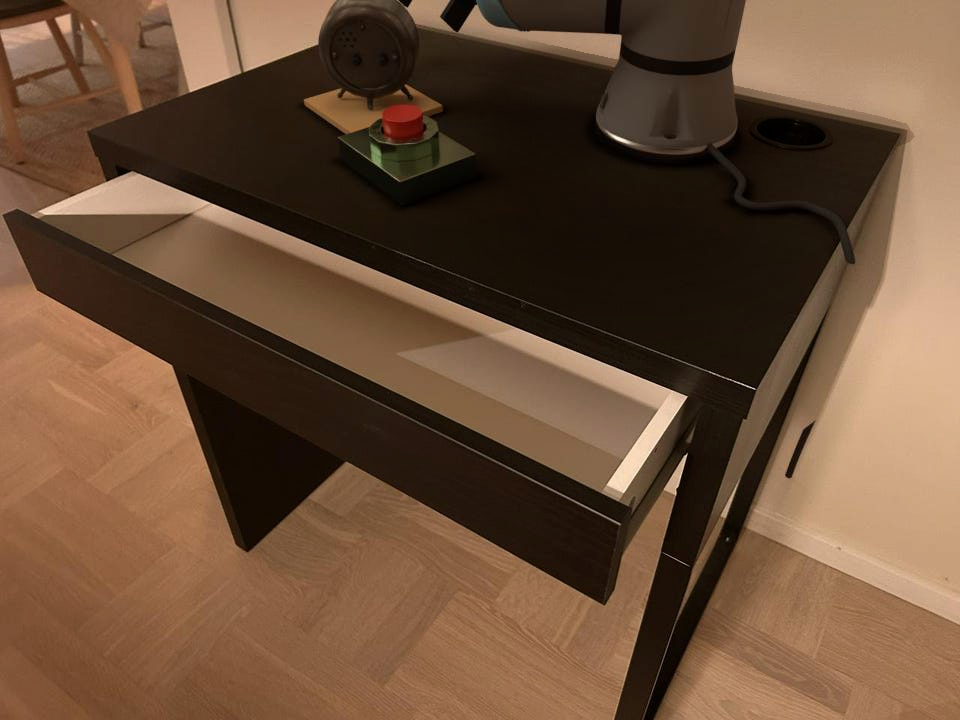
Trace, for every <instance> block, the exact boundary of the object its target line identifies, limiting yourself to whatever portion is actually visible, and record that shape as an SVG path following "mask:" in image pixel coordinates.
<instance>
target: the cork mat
mask: <svg viewBox="0 0 960 720" xmlns="http://www.w3.org/2000/svg"><path fill="white" fill-rule="evenodd" d="M405 86H406V88H407V89H408V90H409V92H410V94H411V95H412V96H413V99H412V100H409V99H408V97H407V95H405V94H404V93H403V92H402V91H401V90H399V91H397V92H396V93H394V94H392V95H390V96H387V97H383V98H376V99H373V110H369V109H368V107H367V98H363V97H359V96H356V95H353V94H351V93H349V92H347V91H346V92H345V93H344V94H343V96H342V98H338V96H337V94H338V93H340V91H341V88H338V89H334V90H332V91H327V92H325V93H321V94H318V95H314V96H311V97H308V98H304V99H303V103H304V106H305V107H306V108H307V109H310V110H311V111H312V112H313V113H315V114H316V115H318V116H319V117H321V118H322V119H323V120H325V121H327V122H328V123H329V124H331V125H332V126H334V127H335V128H336V129H338V130H339V131H341V132H342V133H343V134H344V135H346V134H349V133H352V132H355V131H358V130H361V129H364V128H367V127H370V126H371V125H372V124H373V123H374V122H376V121H377V120H378V119H380V118H382V113H383V111H384V110H385V109H387V108H389V107H391V106H395V105H413V106H416V107H418V108H420V109H421V110H422V113H423V116H427V117H431V116H433V115H437V114H440V113H443V112H444V107H443V104H441V103H439V102H438V101H436V100H434V99H432V98H430V97H429V96H427V95H425V94H424V93H422V92H420V91H419V90H416V89H414V88H413V87H411V86H409V85H408V84H406V85H405Z"/></svg>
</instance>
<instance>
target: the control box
mask: <svg viewBox="0 0 960 720" xmlns="http://www.w3.org/2000/svg"><path fill="white" fill-rule="evenodd" d="M423 128H424V132H423V133H422V134H421V135H419V136H416V137H413V138H407V139H395V138H389V137H387V136H385V135H384V128H383V119H382V118H380V119H378V120H377V121H376V122H374V123H373V124H372V125H371V126H370V127H367V128H364V129H361V130H358V131H355V132H352V133H349V134H343V135H340V136H338V137H337V141H338V148H339V155H340V160H341V162H343V164H346V166H348V167H349V168H351V169H352V170H353V171H354V172H356V173H357V174H359V175H360V176H362V177H363V178H364V179H365V180H366V181H368V182H369V183H370V184H372V185H373V186H374V187H376V188H377V189H379V190H380V191H381V192H383V193H384V194H385V195H387V196H388V197H389V198H391V199H392V200H393V201H395V202H396V203H397V204H399V205H400V206H401V207H404V206H407V205H409V204H412V203H414V202H417V201H419V200H423V199H424V198H428V197H430V196H432V195H434V194H438V193H440V192H442V191H445V190H448V189H450V188H453V187H455V186H458V185H461V184H463V183H466V182H468V181H471V180H474V179H476V177H477V173H476V169H477V167H476V166H477V165H476V153H475V152H473V151H472V150H471V149H468V148H467V147H465V146H464V145H462V144H460V143H459V142H457V141H455V140H454V139H452V138H450V137H449V136H447V135H446V134H444V133H442V132H441V131H439V126H438V121H436V120H435V119H432V118H431V117H430V116H428V117H427V116H423Z"/></svg>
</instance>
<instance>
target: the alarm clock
mask: <svg viewBox="0 0 960 720" xmlns="http://www.w3.org/2000/svg"><path fill="white" fill-rule="evenodd" d="M317 40H318V43H317V44H318V54H319V58H320V61H321V64H322V66H323V68H324V70H325V71H326V74H327V75H328V76H329V78H330V79H331V80H332V81H333V82H334V83H335V84H336V85H337V86H338V87H339V88H340V89H341V91H340V93H338V94H337V96H338V98H342V96H343V94H344V93H345V92H346V91H347V92H349V93H351V94H353V95H356V96H359V97H363V98H367V107H368V109H369V110H373V99H376V98H383V97H387V96H390V95H392V94H394V93H396V92H397V91H399V90H401V91H402V92H403V93H404V94H405V95H407V97H408V99H409V100H412V99H413V96H412V95H411V94H410V92H409V90H408V89H407V88H406V86H405V85H407V84H408V83H409V81H410V79H411V78H412V76H413V73H414V70H415V67H416V63H417V60H418V56H419V54H420V53H419V52H420V35H419V31H418V27H417V25H416V22H415V19H414V18H413V16H412V15H411V13H410V12H409V11H408V8H407V7H405V6H404V5H402V4H401V3H400V2H399V1H398V0H336V1H334V2H333V4H332V5H331V6H330V7H329V10H328V12H327V13H326V16H325V18H324V20H323V22H322V24H321V27H320V29H319V32H318V39H317Z"/></svg>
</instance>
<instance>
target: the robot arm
mask: <svg viewBox="0 0 960 720" xmlns="http://www.w3.org/2000/svg"><path fill="white" fill-rule="evenodd" d="M397 1H399V2H400V3H401V4H402V5H403V6H404V7H405V8H406V9H408V8H409V7H410V5H411V3H412V2H413V0H397ZM746 2H747V0H449V1H448V3H447V4H446V6H445V7H444V9H443V11H442V12H441V14H439V15H440V16H439V18H440V19H441V20H442V21H443V22H444V23H445V24H446V25H447V26H448V27H449V28H451V30H452V31H453V32H455V33H459V32H460V30H461V29H462V27H463V25H464V24H465V22H466V21H467V19H468V17H469V16H470V15H471V13H472V12H473V11H474V8H475V7H476V6H477V8H478V10H479V12H480V14H481V15H482V17H483V19H485V21H486V22H488V23H489V24H490V25H492V26H493V27H496V28H502V29H510V30H516V31H518V32H520V33H521V32H524V33H526V32H527V33H529V32H548V33H549V32H552V33H575V34H600V35H603V34H604V35H616V36H617V35H618V36H619V35H620V37H621V38H620V47H619V54H618V60H617V62H616V64H615V66H614V69H613V72H612V73H611V76H610V78H609V80H608V83H607V86H606V88H605V91H604V94H602V95H601V99H600V102H599V104H598V106H597V109H596V113H595V123H594V124H595V125H594V131H595V134H596V136H597V139H599V140H600V142H602V143H603V144H604V145H605V146H606V147H608V148H609V149H611V150H613V151H615V152H616V153H619V154H622V155H624V156H627V157H629V158H633V159H636V160H641V161H646V162H651V163H660V164H691V163H697V162H702V161H703V162H704V161H706V160H711V159H713V158H714V159H715V160H716V161H717V162H718V163H719V164H720V165H721V166H722V167H724V168H725V169H726V170H727V171H728V173H730V174H731V175H732V176H733V177H734V178H735V180H736V181H737V184H738V185H737V187H736V189H735V191H734V194H733V199H734V201H735V202H736V204H737V205H739V206H740V207H742V208H745V209H747V210H752V211H757V212H759V211H760V212H767V211H780V210H791V209H795V210H796V209H797V210H805V211H808V212H810V213H812V214H816V215H818V216H819V217H822V218H824V219H826V220H828V221H829V222H830V223H831V224H832V225H833V226H834V227H835V229H836V232H837V234H838V237H839V241H840V245H841V248H842V253H843V257H844V260H845V262H846V263H847V264H849V265H855V264H856V257H855V254H854V249H853V246H852V245H853V244H852V242H851V239H850V235H849V232H848V229H847V227H846V225H845V223H844V221H843V220H842V218H841V217H840V216H839V215H837V214H836V213H835V212H833V211H831V210H829V209H827V208H825V207H822V206H821V205H817V204H815V203H813V202H809V201H804V200H781V201H769V202H758V201H752V200H749V199H746V198H745V197H744V196H743V194H744V192H745V190H746V187H747V180H746V177H745V176H744V174H743V173H742V172H741V171H740V169H739V168H738V167H737V166H735V165H734V164H733V163H732V162H731V161H730V160H729V159H728V158H727V157H726V156H725V155H724V153H725V152H727V151H728V150H729V149H730V148H731V147H732V146H733V144H734V141H735V138H736V135H737V134H736V133H737V130H738V124H739V123H738V121H739V120H738V113H737V110H736V98H735V97H736V95H735V85H734V84H735V83H734V73H733V64H734V60H735V55H736V50H737V46H738V41H739V36H740V32H741V27H742V21H743V16H744V11H745V7H746ZM816 422H817V421H816V419H815V420H813V421H812V422H811V423H809V424H808V425H807V426H805V427H804V428H803V429H802V431H801V433H800V436H799V438H798V441H797V443H796V445H795V448H794V450H793V453H792V455H791V458H790V460H789V463H788V465H787V468H786V471H785V474H784V476H785V478H787V479H791V478H793V475H794V473H795V470H796V467H797V465H798V462H799V459H800V457H801V454H802V453H803V450H804V447H805V445H806V443H807V440H808V438H809V436H810V434H811V432H812V430H813V428H814V425H815V423H816Z"/></svg>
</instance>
